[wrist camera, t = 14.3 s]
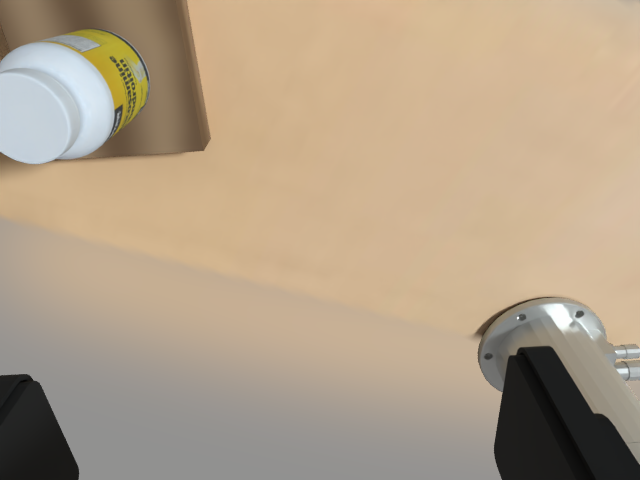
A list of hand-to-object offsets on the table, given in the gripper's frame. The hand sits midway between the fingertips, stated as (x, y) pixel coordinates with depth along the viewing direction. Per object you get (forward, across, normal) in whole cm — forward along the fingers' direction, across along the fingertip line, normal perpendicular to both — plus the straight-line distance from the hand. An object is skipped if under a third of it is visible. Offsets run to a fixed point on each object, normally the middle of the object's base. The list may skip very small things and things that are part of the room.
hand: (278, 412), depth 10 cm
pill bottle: (+30, +14, -2) cm, 33 cm away
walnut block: (+32, +14, -2) cm, 35 cm away
